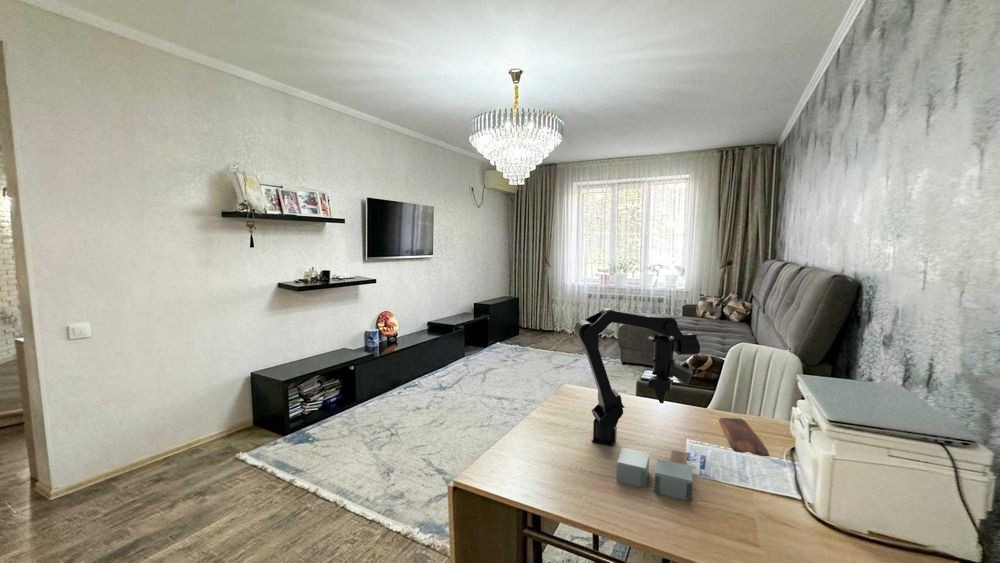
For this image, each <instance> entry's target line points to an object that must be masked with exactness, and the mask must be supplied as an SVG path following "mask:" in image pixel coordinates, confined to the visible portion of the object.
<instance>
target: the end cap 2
mask: <svg viewBox="0 0 1000 563" xmlns="http://www.w3.org/2000/svg"><path fill="white" fill-rule="evenodd" d="M692 492H693V465H688V464H687V465H685V464H680V463H675V462H671V460H670V461H669V460H666V459H661V458H657V459H656V465H655V469H654V493H655V494H658V495H662V496H667V497H671V498H675V499H678V500H679V499H680V500H683V501H687V502H691V503H692V497H693V493H692Z"/></svg>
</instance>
